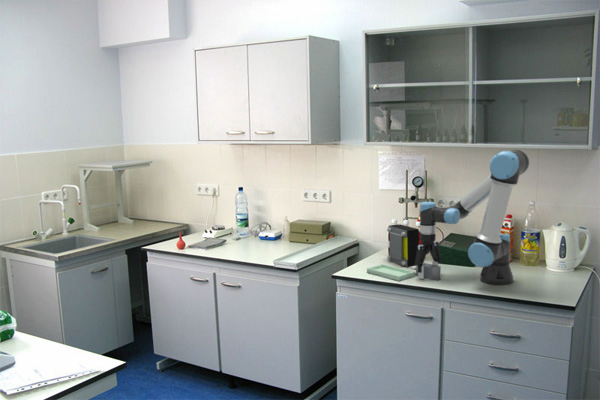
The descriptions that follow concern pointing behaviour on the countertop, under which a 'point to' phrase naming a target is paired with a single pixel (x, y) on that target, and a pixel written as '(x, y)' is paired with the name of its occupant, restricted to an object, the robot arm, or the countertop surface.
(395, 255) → the electrical component
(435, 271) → the connector
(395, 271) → the tray
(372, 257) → the countertop surface
